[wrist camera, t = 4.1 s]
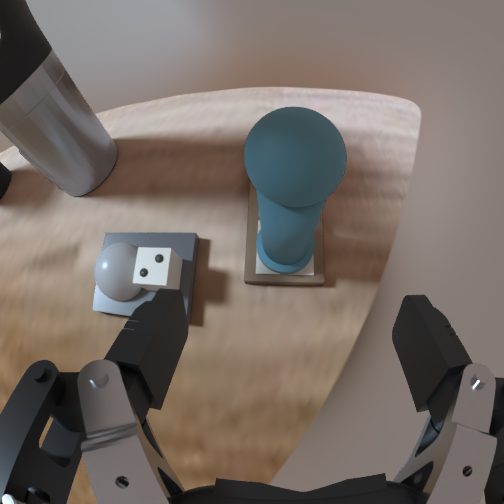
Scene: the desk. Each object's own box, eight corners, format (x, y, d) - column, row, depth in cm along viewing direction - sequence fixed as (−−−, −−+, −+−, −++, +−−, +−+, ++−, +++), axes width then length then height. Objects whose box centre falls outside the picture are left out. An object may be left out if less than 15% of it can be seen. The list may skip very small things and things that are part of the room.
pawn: (255, 273, 23) (229, 169, 9) (258, 220, 24) (240, 85, 10) (313, 274, 22) (369, 175, 9) (312, 221, 24) (348, 90, 10)
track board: (245, 283, 24) (243, 280, 23) (254, 137, 29) (253, 129, 28) (322, 285, 23) (325, 282, 22) (313, 139, 28) (315, 130, 27)
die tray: (107, 313, 26) (73, 305, 20) (118, 242, 28) (89, 220, 22) (195, 324, 25) (173, 319, 19) (202, 243, 27) (185, 218, 22)
